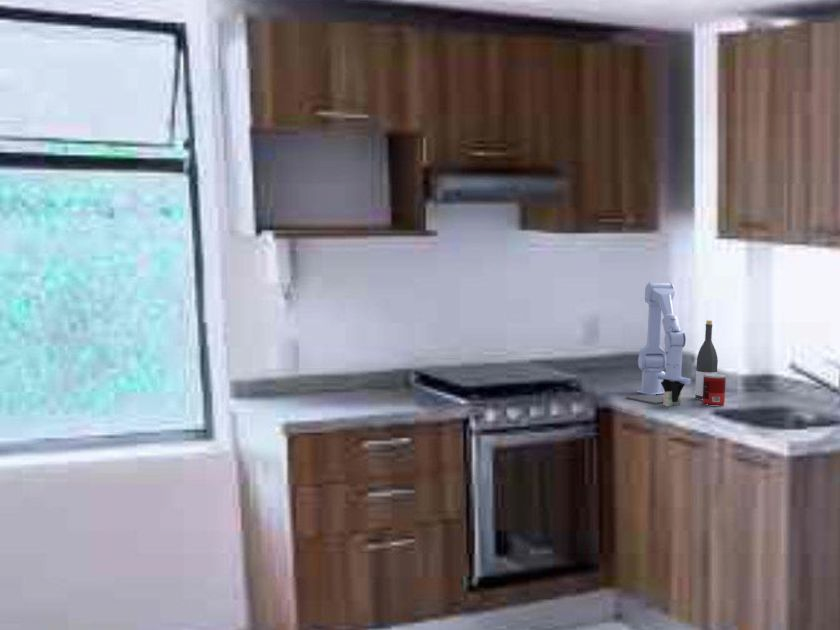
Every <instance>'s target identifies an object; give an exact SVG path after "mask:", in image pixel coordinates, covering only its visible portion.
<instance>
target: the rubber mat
mask: <svg viewBox="0 0 840 630" xmlns="http://www.w3.org/2000/svg"><path fill="white" fill-rule="evenodd" d="M625 398H626V399H627V400H632V401H638V402H642V403H646V404H650V405H660V404H659V403H662V404H663V403H664V396H661V395H658V394H657V395H652V394H639V395H638V394H637V395H630V396H626V397H625Z"/></svg>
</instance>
